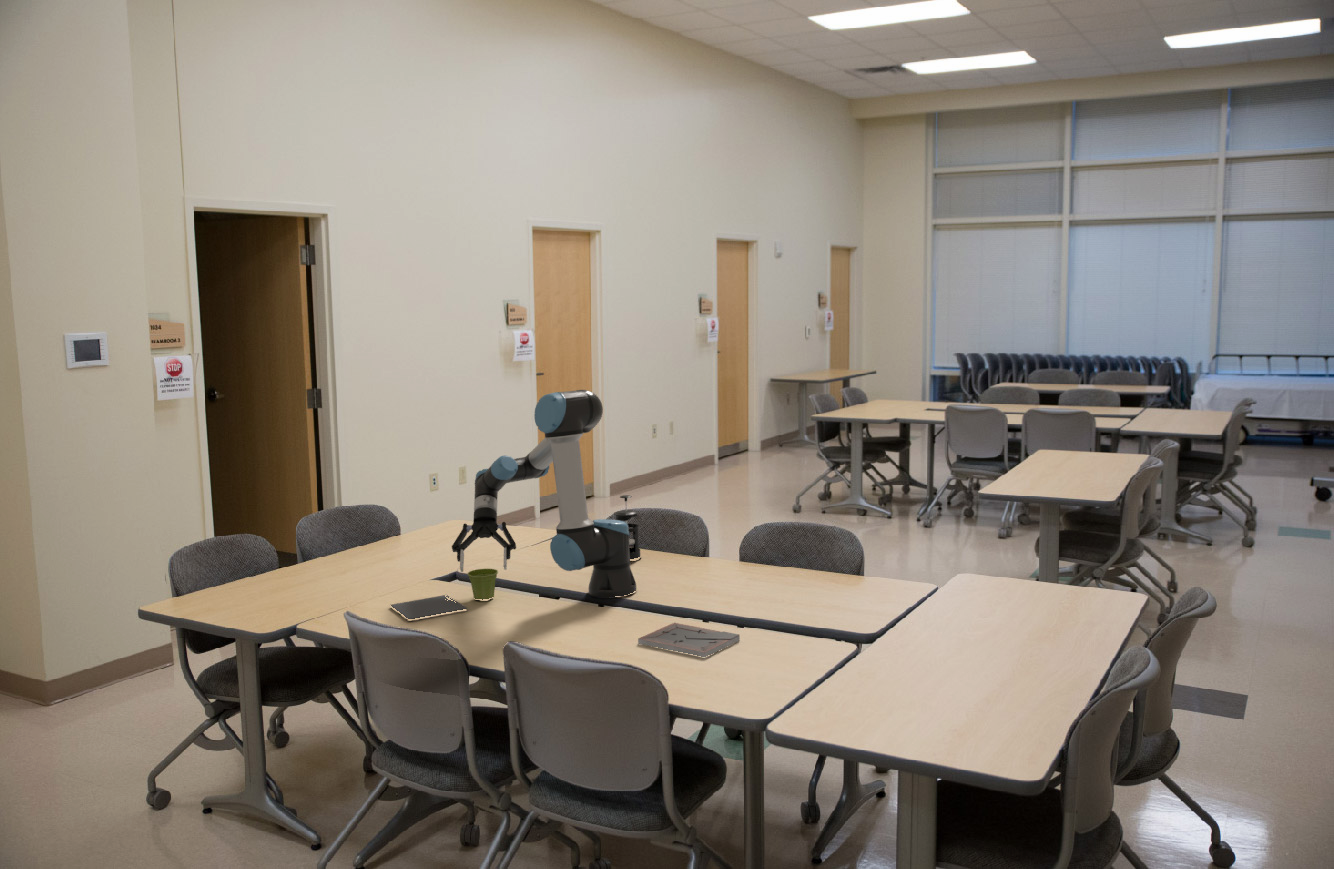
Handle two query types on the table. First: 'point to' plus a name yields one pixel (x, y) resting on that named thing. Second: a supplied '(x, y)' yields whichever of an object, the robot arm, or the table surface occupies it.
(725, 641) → the picture frame
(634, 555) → the french press
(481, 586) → the plant pot
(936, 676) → the table surface
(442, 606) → the charcoal mat
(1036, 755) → the table surface
